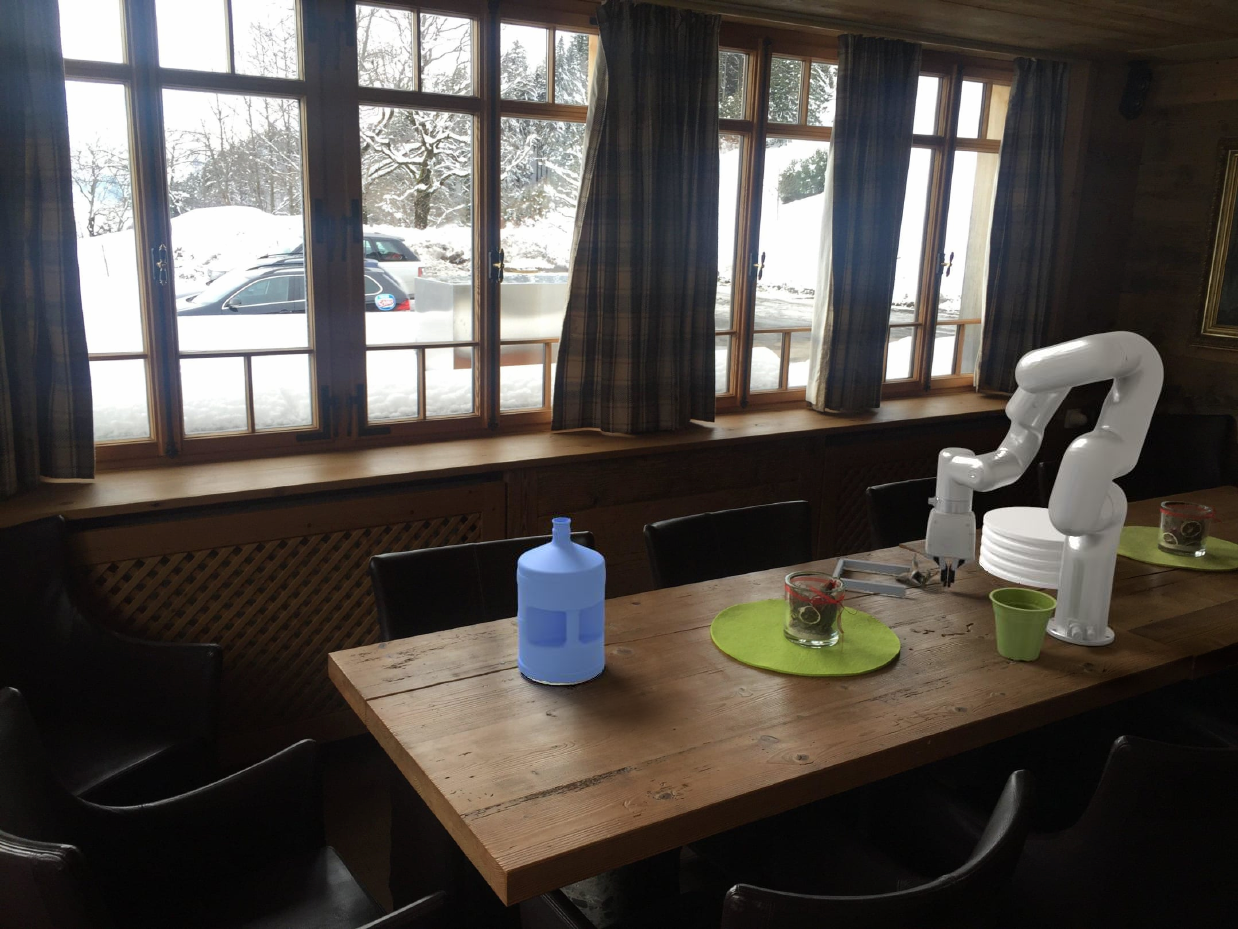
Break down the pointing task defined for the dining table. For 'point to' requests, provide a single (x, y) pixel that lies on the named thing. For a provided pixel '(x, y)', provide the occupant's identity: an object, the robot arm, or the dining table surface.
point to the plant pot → (1021, 621)
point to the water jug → (561, 610)
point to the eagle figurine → (917, 574)
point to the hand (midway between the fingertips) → (946, 585)
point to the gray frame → (876, 567)
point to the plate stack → (1022, 546)
